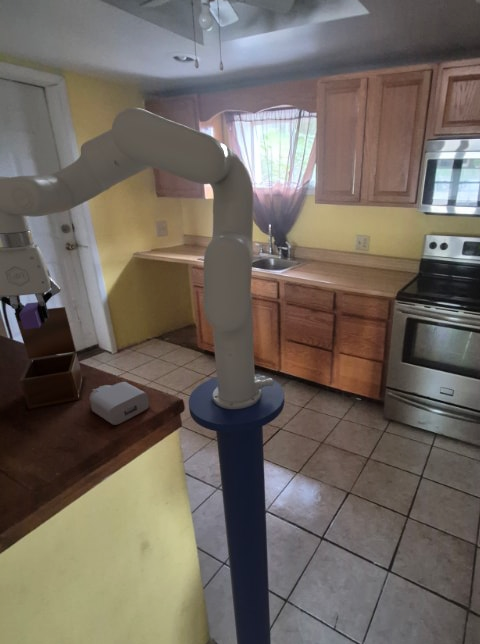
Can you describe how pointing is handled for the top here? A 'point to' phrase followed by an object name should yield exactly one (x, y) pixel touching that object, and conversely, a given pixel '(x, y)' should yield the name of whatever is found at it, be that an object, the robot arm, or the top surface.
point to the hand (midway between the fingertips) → (34, 321)
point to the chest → (51, 380)
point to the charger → (118, 402)
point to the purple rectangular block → (30, 316)
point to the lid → (49, 335)
